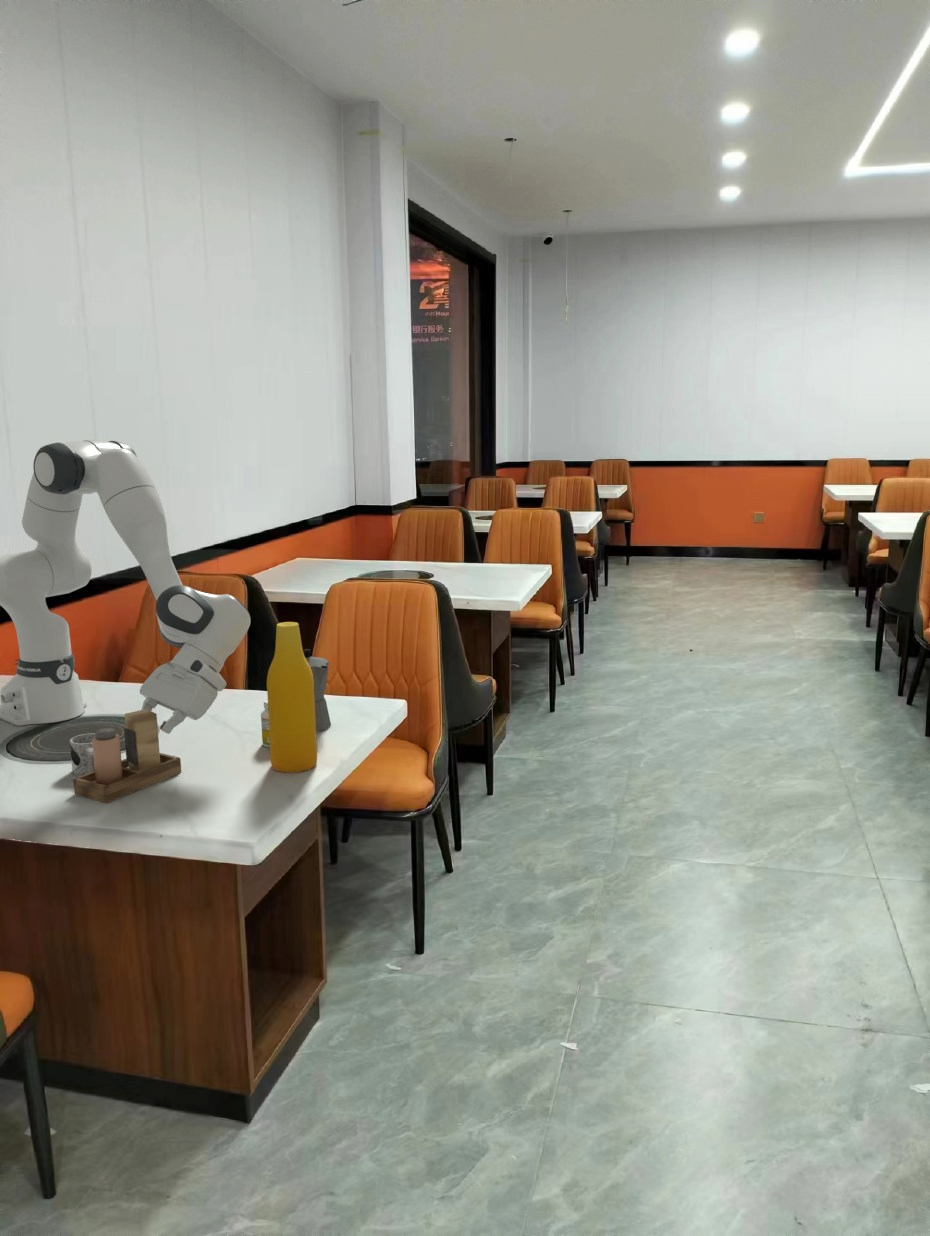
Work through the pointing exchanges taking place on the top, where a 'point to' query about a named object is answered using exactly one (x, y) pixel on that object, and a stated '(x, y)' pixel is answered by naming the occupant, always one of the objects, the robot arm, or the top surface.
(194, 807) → the top surface
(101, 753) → the terracotta shaker
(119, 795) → the wooden tray
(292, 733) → the beer bottle
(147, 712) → the oak block
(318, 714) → the coffeepot
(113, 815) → the top surface
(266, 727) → the supplement bottle
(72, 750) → the mug
